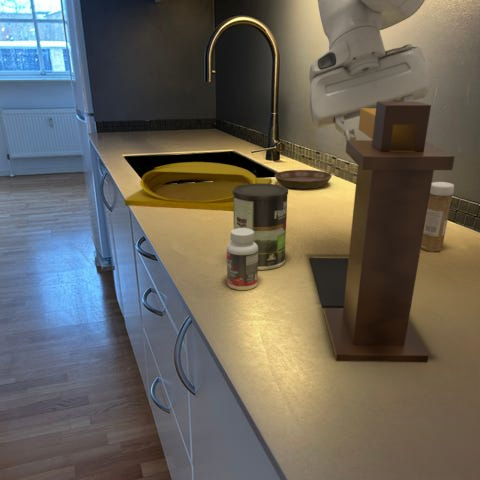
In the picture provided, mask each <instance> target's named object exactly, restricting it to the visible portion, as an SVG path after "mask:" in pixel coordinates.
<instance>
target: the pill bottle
mask: <svg viewBox="0 0 480 480" xmlns="http://www.w3.org/2000/svg"><path fill="white" fill-rule="evenodd" d="M229 237H230V238H229V239H230V242H229V243H228V244H227V245H226V282H227V283H226V284H227V286H228V287H229V288H231V289H232V290H237V291H249V290H252V289H254V288H256V287H257V286H258V280H259V270H258V245H257V244H256V243H255V242H253V241H254V231H253V230H251V229H248V228H237V229H234V228H233V229H231V230H230V236H229Z"/></svg>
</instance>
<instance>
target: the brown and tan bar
mask: <svg viewBox="0 0 480 480" xmlns="http://www.w3.org/2000/svg"><path fill="white" fill-rule="evenodd" d="M431 108H432V105H431V104H429V103H425V102H421V101H414V102H377V104H376V108H361V110H360V116H359V120H358V121H359V122H358V131H360V132H361V133H363V134H364V135H365V136H366V137H368V138H370V140H372V145H373V146H374V147H376V148H377V149H378V150H379V151H381V152H424V148H425V142H427V134H428V128H429V121H430V116H431Z"/></svg>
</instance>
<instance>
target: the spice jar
mask: <svg viewBox="0 0 480 480" xmlns="http://www.w3.org/2000/svg"><path fill="white" fill-rule="evenodd" d="M454 192H455V184H454V183H451V182H447V181H434V182H433V181H432V184H431V190H430V196H429V202H428V208H427V214H426V220H425V226H424V232H423V238H422V244H421V249H422V250H423V251H427V252H441V251H442V250H443V249H444V241H445V236H446V232H447V226H448V219H449V212H450V208H451V200H452V197H453V194H454Z"/></svg>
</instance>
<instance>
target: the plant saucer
mask: <svg viewBox="0 0 480 480" xmlns="http://www.w3.org/2000/svg"><path fill="white" fill-rule="evenodd" d="M274 177H275V179H276V181H277V182H278V183H279V184H280V186H284V187H286V188H288V189H289V188H290V189H297V190H298V189H300V190H306V189H307V190H309V189H318V188H322V187H324V186H326V185H327V184H328V182H329V181H330V180H331V178H332V177H333V175H332V174H331V173H330V172H327V171H324V170H323V171H322V170H314V169H291V170H290V169H289V170H282V171H279V172H276V173H275V174H274Z"/></svg>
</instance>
